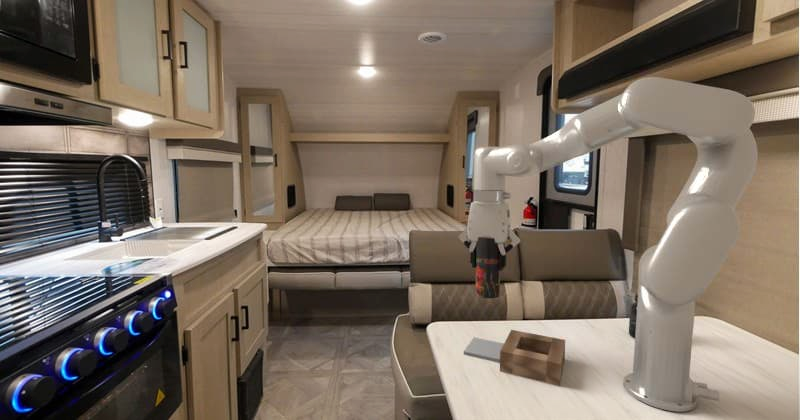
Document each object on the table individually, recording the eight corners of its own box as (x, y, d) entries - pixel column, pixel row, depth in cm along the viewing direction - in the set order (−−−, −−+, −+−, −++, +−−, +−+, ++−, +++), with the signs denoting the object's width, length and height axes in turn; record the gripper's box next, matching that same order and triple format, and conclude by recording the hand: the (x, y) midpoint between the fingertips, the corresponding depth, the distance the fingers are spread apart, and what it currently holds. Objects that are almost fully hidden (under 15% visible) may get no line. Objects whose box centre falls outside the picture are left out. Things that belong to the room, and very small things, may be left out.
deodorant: (502, 298, 92) (503, 238, 91) (477, 298, 92) (478, 238, 91) (496, 290, 98) (497, 234, 96) (473, 290, 98) (474, 234, 97)
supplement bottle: (662, 343, 100) (665, 300, 99) (634, 341, 102) (637, 298, 100) (650, 332, 107) (653, 292, 106) (624, 330, 108) (626, 290, 107)
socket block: (564, 359, 92) (565, 339, 92) (560, 386, 81) (561, 364, 80) (510, 347, 98) (511, 329, 98) (499, 371, 87) (500, 350, 86)
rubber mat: (507, 347, 99) (507, 344, 99) (499, 362, 91) (499, 359, 91) (473, 340, 103) (473, 337, 103) (463, 354, 95) (463, 351, 95)
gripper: (527, 197, 92) (525, 268, 94) (460, 195, 100) (460, 261, 102) (522, 199, 85) (520, 276, 87) (451, 197, 93) (450, 267, 95)
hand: (487, 267), depth 94 cm, fingers closed on deodorant, 6 cm apart
